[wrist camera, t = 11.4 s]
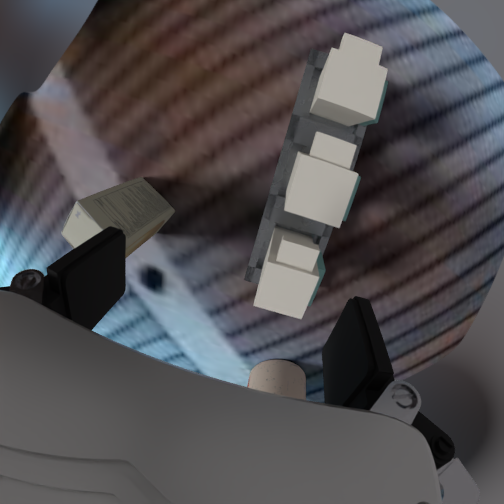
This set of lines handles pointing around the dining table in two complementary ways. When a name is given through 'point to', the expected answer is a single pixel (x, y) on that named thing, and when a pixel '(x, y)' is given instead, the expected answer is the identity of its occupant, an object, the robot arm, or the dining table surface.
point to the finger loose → (290, 273)
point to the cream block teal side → (351, 84)
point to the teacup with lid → (279, 378)
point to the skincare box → (119, 214)
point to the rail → (295, 140)
